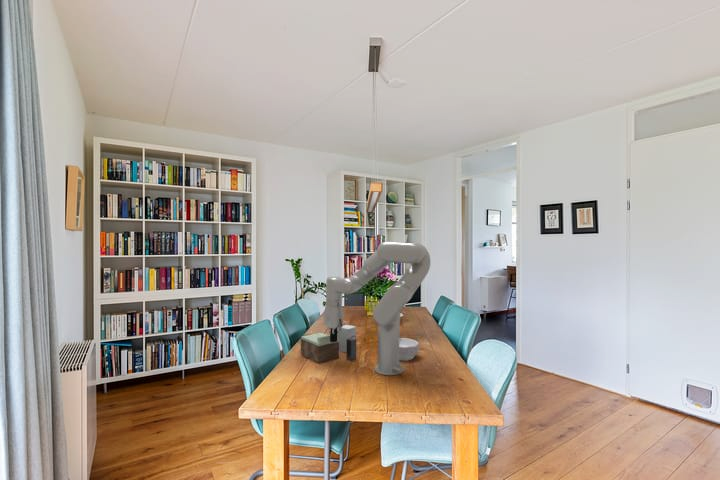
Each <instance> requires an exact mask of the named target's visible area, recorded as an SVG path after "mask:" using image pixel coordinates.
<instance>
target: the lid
mask: <svg viewBox="0 0 720 480" xmlns="http://www.w3.org/2000/svg"><path fill="white" fill-rule="evenodd" d="M306 335H307V336H303V335H300V340H301V339H303V340H305V341H308V342H310V343H312V344H314V345H317V346H322V345H326V344H331V343H335V342H330V334H327V333H323V332H318V333H313V334H312V335H308V334H306ZM337 342H339V339H338V338H337Z"/></svg>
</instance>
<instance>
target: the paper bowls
mask: <svg viewBox="0 0 720 480" xmlns="http://www.w3.org/2000/svg"><path fill="white" fill-rule="evenodd" d="M419 347H420V346H419V342H418V341H416V340H414V339H412V338H407V337H399V361H401V362H402V361H411V360H413V359H414V358H415V356H417V355H418V354H419Z"/></svg>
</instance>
